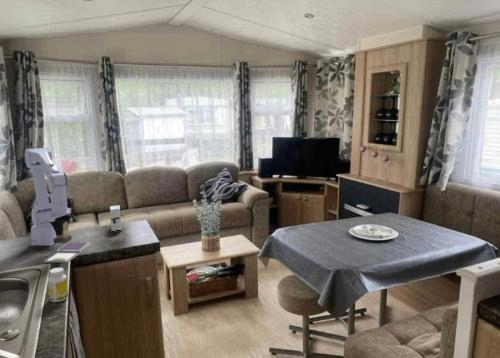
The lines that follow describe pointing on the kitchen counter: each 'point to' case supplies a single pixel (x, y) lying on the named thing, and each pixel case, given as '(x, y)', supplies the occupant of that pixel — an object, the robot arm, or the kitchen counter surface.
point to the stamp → (63, 235)
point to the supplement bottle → (57, 285)
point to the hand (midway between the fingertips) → (61, 233)
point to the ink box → (115, 218)
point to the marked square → (61, 257)
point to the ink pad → (74, 247)
